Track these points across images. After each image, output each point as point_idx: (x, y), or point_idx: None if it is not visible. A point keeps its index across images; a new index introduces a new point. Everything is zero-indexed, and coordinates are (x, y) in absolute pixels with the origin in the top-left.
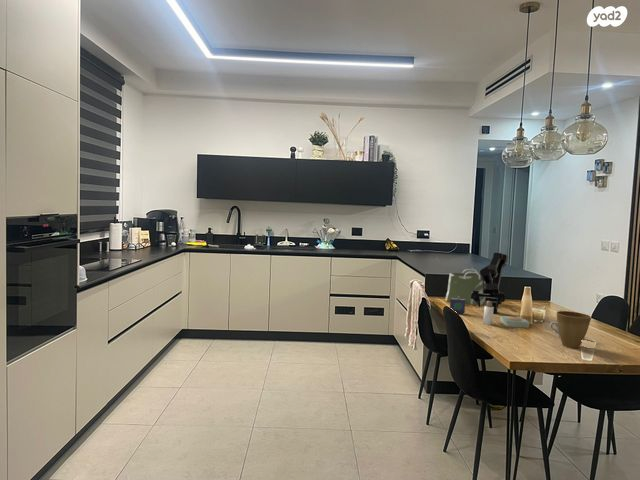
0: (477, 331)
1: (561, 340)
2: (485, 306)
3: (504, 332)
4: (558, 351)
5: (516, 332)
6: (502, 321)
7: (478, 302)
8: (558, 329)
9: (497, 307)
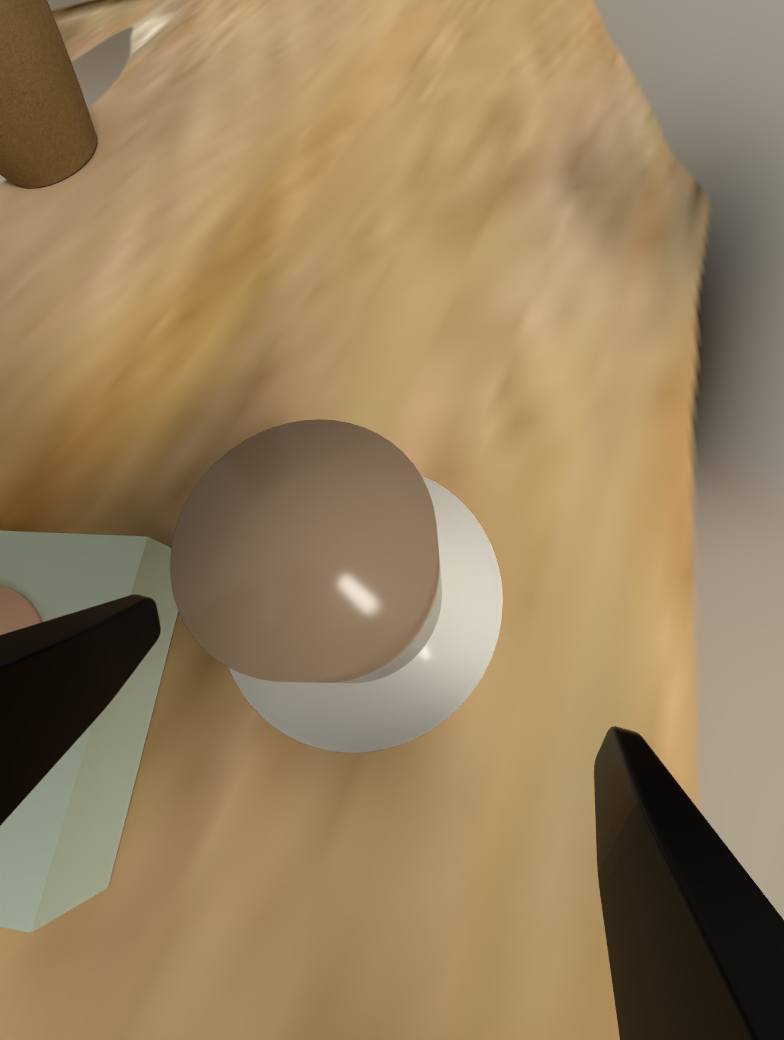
0: (643, 291)
1: (78, 113)
2: (472, 591)
3: (355, 324)
4: (208, 67)
5: (230, 351)
6: (127, 767)
7: (781, 923)
8: (19, 17)
9: (109, 603)
